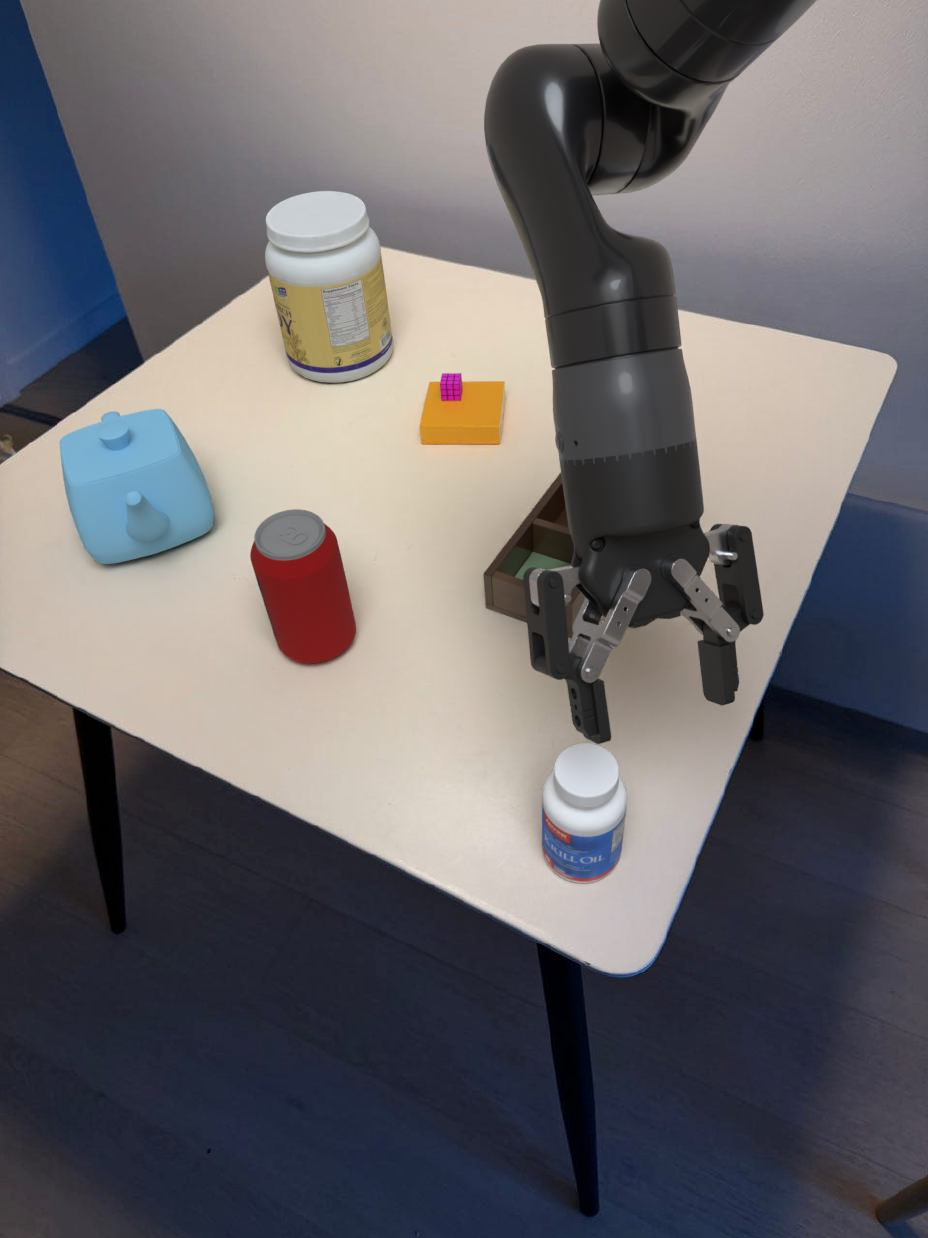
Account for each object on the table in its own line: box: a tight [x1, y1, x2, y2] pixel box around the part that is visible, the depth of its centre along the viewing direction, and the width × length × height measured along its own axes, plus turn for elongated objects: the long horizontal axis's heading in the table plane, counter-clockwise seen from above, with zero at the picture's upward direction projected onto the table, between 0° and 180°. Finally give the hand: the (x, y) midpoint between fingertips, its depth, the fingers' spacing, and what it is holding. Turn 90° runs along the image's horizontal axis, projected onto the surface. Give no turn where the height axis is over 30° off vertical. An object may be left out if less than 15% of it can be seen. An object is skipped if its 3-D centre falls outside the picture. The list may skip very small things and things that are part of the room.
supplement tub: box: [264, 190, 394, 384], centre depth 107 cm, size 12×12×17 cm
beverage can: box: [249, 508, 357, 664], centre depth 79 cm, size 7×7×12 cm
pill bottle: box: [541, 742, 628, 884], centre depth 64 cm, size 6×5×10 cm
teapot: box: [59, 408, 215, 565], centre depth 90 cm, size 12×18×12 cm
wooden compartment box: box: [482, 472, 586, 640], centre depth 85 cm, size 8×15×4 cm, turn 150°
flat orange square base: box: [419, 372, 507, 445], centre depth 101 cm, size 8×8×4 cm
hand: (660, 720), depth 58 cm, fingers open, 8 cm apart
